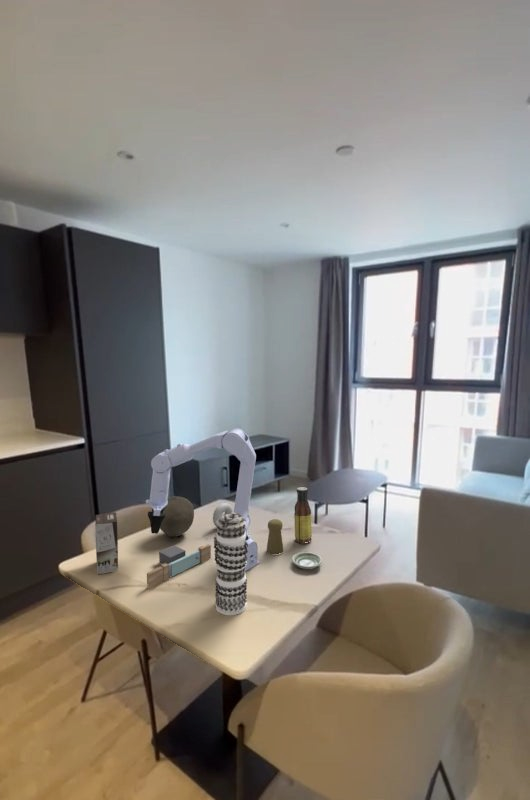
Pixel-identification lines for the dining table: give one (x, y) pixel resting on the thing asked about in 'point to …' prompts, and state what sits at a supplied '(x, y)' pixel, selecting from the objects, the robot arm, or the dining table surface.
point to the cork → (275, 537)
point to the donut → (221, 511)
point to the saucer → (306, 560)
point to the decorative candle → (231, 564)
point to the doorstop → (171, 554)
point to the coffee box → (106, 542)
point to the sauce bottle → (302, 517)
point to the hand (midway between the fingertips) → (155, 527)
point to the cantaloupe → (177, 516)
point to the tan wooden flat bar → (162, 572)
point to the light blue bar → (184, 563)
